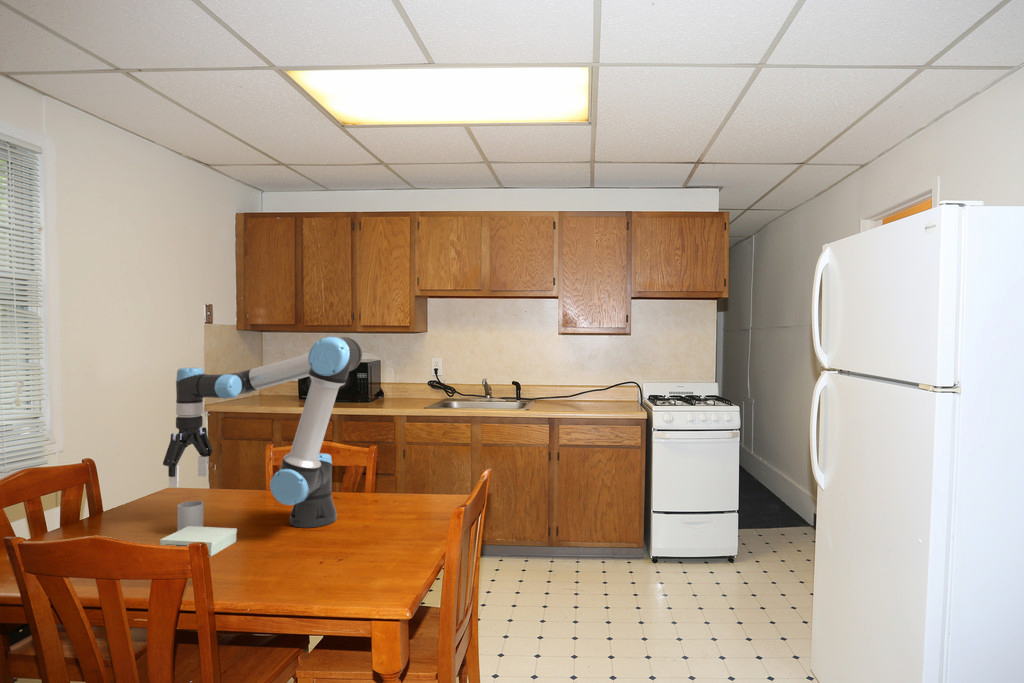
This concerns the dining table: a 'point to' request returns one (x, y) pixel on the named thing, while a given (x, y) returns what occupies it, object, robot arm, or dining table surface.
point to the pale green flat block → (203, 537)
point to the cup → (190, 514)
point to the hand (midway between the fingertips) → (188, 481)
